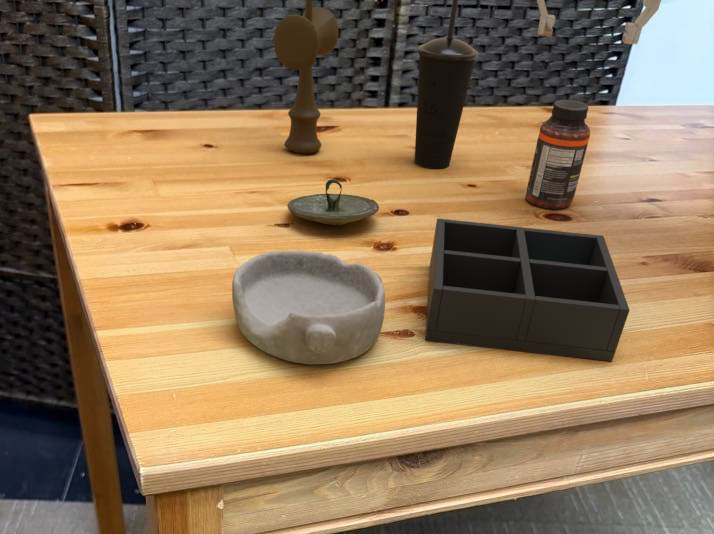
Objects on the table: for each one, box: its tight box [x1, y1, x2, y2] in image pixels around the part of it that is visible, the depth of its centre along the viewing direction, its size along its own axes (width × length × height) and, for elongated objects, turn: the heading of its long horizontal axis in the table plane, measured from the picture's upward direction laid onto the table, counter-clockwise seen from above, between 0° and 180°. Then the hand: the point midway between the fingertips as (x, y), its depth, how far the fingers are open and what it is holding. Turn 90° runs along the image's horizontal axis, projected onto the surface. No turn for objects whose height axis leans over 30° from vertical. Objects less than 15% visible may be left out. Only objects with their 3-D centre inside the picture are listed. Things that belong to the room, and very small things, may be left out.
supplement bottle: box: [525, 99, 591, 210], centre depth 99 cm, size 6×6×11 cm
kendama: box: [273, 0, 340, 154], centre depth 107 cm, size 6×10×20 cm, turn 160°
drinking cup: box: [414, 0, 479, 170], centre depth 105 cm, size 8×8×20 cm
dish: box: [231, 250, 386, 365], centre depth 72 cm, size 14×14×5 cm
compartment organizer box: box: [424, 218, 630, 362], centre depth 78 cm, size 17×17×5 cm
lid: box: [286, 178, 380, 227], centre depth 93 cm, size 11×10×5 cm
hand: (586, 38), depth 91 cm, fingers open, 8 cm apart
